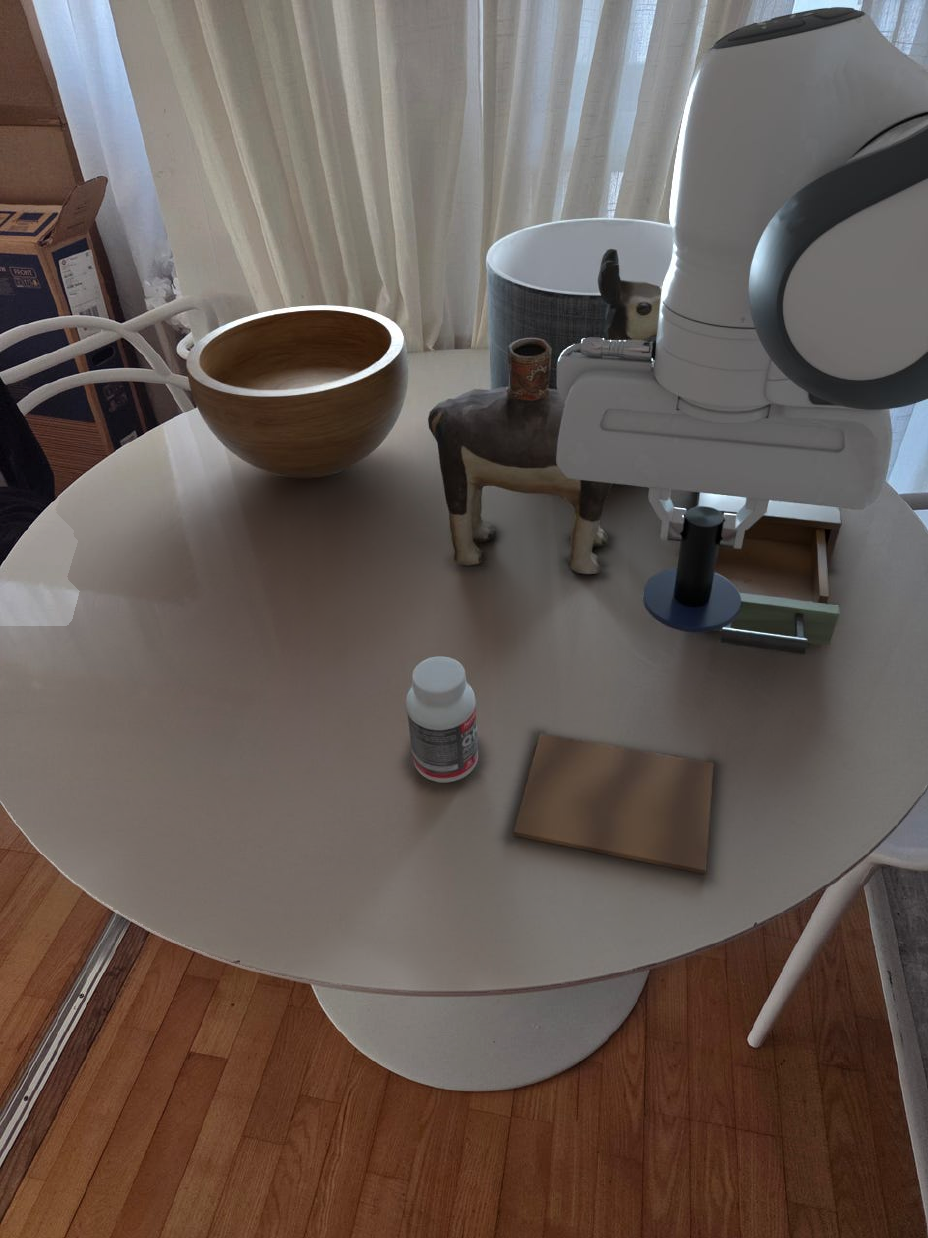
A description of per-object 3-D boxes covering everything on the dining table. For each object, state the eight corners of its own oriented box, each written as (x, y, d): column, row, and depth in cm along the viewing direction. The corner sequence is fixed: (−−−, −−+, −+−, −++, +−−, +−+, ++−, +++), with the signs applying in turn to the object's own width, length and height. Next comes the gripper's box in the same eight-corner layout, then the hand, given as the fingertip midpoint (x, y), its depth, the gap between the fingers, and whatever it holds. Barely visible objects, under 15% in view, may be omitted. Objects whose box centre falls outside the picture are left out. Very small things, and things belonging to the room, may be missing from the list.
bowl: (450, 481, 102) (442, 361, 92) (246, 543, 95) (213, 419, 85) (373, 398, 120) (359, 290, 110) (195, 445, 112) (164, 333, 102)
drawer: (831, 682, 73) (842, 650, 71) (683, 660, 76) (689, 629, 74) (823, 551, 87) (832, 520, 85) (698, 537, 90) (703, 506, 88)
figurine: (653, 583, 86) (690, 280, 66) (428, 572, 89) (401, 279, 69) (651, 525, 94) (684, 238, 74) (444, 516, 97) (423, 238, 77)
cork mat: (712, 767, 68) (713, 762, 68) (705, 874, 61) (706, 870, 61) (539, 737, 71) (540, 733, 71) (513, 836, 64) (513, 832, 64)
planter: (526, 376, 122) (527, 211, 108) (707, 399, 115) (733, 225, 100) (462, 465, 105) (451, 283, 90) (670, 499, 97) (695, 305, 83)
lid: (742, 578, 65) (759, 494, 60) (737, 639, 60) (756, 552, 55) (648, 566, 66) (658, 483, 61) (636, 624, 61) (646, 539, 56)
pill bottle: (480, 783, 68) (475, 697, 62) (413, 787, 68) (401, 702, 62) (477, 731, 72) (472, 646, 66) (413, 736, 72) (402, 651, 66)
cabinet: (828, 569, 86) (841, 523, 83) (690, 553, 89) (697, 508, 86) (822, 487, 98) (834, 443, 94) (699, 475, 101) (706, 432, 97)
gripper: (546, 356, 51) (544, 547, 60) (924, 384, 46) (859, 587, 55) (567, 315, 55) (561, 498, 64) (912, 336, 50) (854, 531, 59)
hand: (701, 539), depth 59 cm, fingers closed on lid, 2 cm apart
